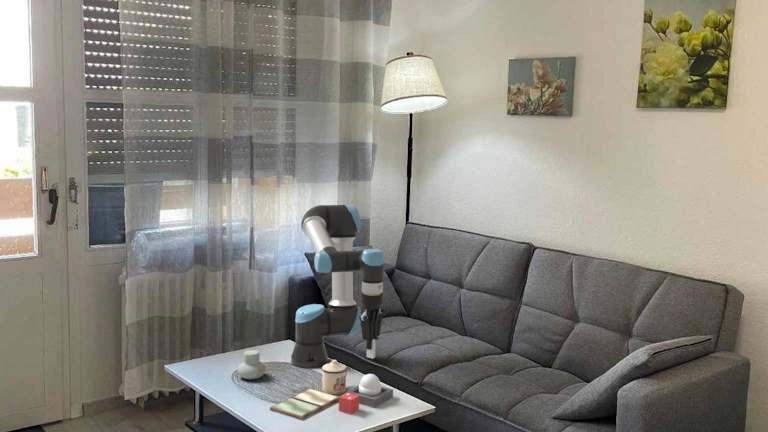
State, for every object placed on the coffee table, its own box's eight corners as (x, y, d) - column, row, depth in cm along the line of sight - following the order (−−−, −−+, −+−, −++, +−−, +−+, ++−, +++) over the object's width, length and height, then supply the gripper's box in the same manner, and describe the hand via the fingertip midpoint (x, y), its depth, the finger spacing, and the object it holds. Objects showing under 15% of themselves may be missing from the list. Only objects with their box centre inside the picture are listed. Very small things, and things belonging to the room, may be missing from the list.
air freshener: (253, 383, 280) (253, 357, 278) (234, 380, 283) (234, 354, 281) (268, 374, 290) (268, 349, 289) (249, 371, 293) (249, 346, 291)
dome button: (366, 387, 273) (367, 369, 272) (385, 392, 269) (385, 373, 268) (354, 394, 266) (354, 375, 265) (372, 399, 262) (373, 380, 261)
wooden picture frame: (309, 390, 274) (309, 388, 273) (340, 399, 266) (340, 396, 266) (269, 410, 255) (269, 406, 255) (301, 419, 248) (301, 416, 248)
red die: (347, 406, 260) (347, 392, 259) (358, 409, 258) (359, 395, 257) (338, 410, 256) (339, 396, 255) (350, 414, 253) (350, 399, 253)
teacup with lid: (336, 397, 268) (336, 366, 267) (316, 391, 273) (317, 361, 272) (355, 387, 278) (356, 357, 276) (336, 382, 283) (336, 352, 281)
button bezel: (365, 389, 276) (365, 382, 276) (392, 397, 269) (393, 389, 269) (346, 400, 266) (346, 392, 265) (374, 408, 259) (374, 399, 259)
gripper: (370, 298, 255) (369, 364, 258) (391, 291, 266) (389, 354, 269) (353, 294, 259) (351, 360, 262) (373, 288, 270) (372, 350, 273)
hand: (370, 357), depth 265 cm, fingers closed
